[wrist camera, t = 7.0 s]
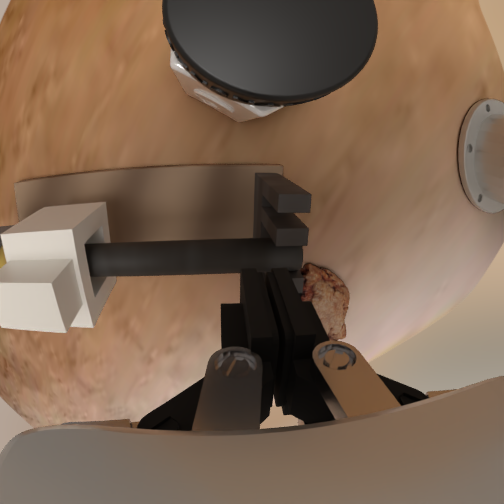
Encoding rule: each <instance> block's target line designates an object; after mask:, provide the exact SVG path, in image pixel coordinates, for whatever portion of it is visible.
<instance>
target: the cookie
mask: <svg viewBox="0 0 504 504" xmlns="http://www.w3.org/2000/svg"><path fill="white" fill-rule="evenodd" d="M299 271H300V272H301V274H302V275H303V277H304V282H303V291H302V293H299V295H300V298H301V300H302V301H311V302H312V304H313V306H314V308H315V310H316V312H317V314H318V316H319V318H320V320H321V323H322V325H323V327H324V329H325V331H326V333H327V335H328V337H329V339H330V341H337V340H338V339H343V338H345V337H346V326H345V323H344V319H345V316H346V313H347V310H348V305H349V291H348V288H347V287H346V286H345V285H344V283H343V281H342V280H340V279H339V278H338V277H337V276H336V275H335V274H334V273H332V272H330V271H329V270H327V269H324V268H323V269H321V267H320V268H317V266H313V265H312V264H307V265H305V266H304V269H303V268H301V269H300V270H299Z"/></svg>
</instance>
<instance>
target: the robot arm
mask: <svg viewBox="0 0 504 504" xmlns="http://www.w3.org/2000/svg"><path fill="white" fill-rule="evenodd" d="M458 161H459V171H460V176H461V181H462V185H463V187H464V190H465V193H466V195H467V196H468V198H469V200H470V201H471V203H472V204H473V205H474V206H475V207H477V208H478V209H480V210H482V211H484V212H487V213H493V214H494V213H498V212H500V211H502V210H503V209H504V103H503V102H501V101H499V100H496V99H483V100H480V101H478V102H477V103H475V104H474V105H473V106H472V107H471V108H470V110H469V112H468V113H467V115H466V117H465V120H464V122H463V125H462V129H461V134H460V139H459V148H458ZM221 344H222V349H220V350H218V351H216V352H215V353H214V354H213V355H212V356H211V357H210V359H209V361H208V365H207V369H206V373H205V377H204V378H202V379H201V380H199V381H198V382H196V383H195V384H193V385H192V386H190V387H189V388H187V389H186V390H184V391H183V392H181V393H180V394H178V395H177V396H175V397H174V398H172V399H170V400H169V401H167V402H166V403H164V404H163V405H161V406H160V407H158V408H156V409H155V410H153V411H152V412H150V413H148V414H147V415H146V416H144V417H143V418H142V419H141V420H140V422H131V421H130V419H122V420H109V421H91V422H68V423H63V424H61V425H52V426H45V427H38V428H34V429H30V430H27V431H24V432H22V433H20V434H18V435H16V436H15V437H14V438H13V439H12V440H10V441H9V442H8V444H7V445H6V446H5V447H4V449H3V450H2V452H1V454H0V504H504V376H499V377H495V378H491V379H487V380H484V381H481V382H478V383H475V384H472V385H469V386H466V387H463V388H460V389H454V390H443V391H430V392H427V393H426V395H425V394H423V393H422V392H420V391H419V390H416V389H414V388H412V387H409V386H406V385H404V384H401V383H399V382H396V381H394V380H391V379H389V378H386V377H384V376H381V375H379V374H376V373H375V371H374V370H373V369H372V368H371V366H370V365H369V364H368V362H367V361H366V360H365V358H364V357H363V356H362V355H361V353H360V352H359V351H358V350H357V349H356V348H355V347H354V346H352V345H350V344H348V343H345V342H342V341H330V339H329V337H328V335H327V333H326V331H325V329H324V327H323V325H322V323H321V320H320V318H319V316H318V314H317V312H316V310H315V308H314V306H313V304H312V302H311V301H302V300H301V298H300V295H299V293H298V291H297V289H296V286H295V284H294V282H293V280H292V277H291V275H290V273H289V271H288V269H287V268H272V269H271V272H266V277H265V281H264V278H263V274H262V272H257V270H256V268H241V274H240V303H235V304H221ZM273 394H274V399H275V404H276V406H277V407H279V406H282V410H283V414H284V415H293V416H295V417H296V418H298V426H289V427H279V428H267V429H260V424H261V423H262V422H263V421H264V420H265V419H266V418H267V417H268V416H269V414H270V407H272V402H273Z"/></svg>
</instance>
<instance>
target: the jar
mask: <svg viewBox="0 0 504 504" xmlns="http://www.w3.org/2000/svg"><path fill="white" fill-rule="evenodd" d="M162 13H163V24H164V27H165V28H166V30H165V34H166V37H167V40H168V42H169V44H170V47H171V54H170V67H171V69H172V70H173V72H174V74H175V76H176V77H177V79H178V81H179V83H180V84H181V86H182V88H183V90H184V92H185V93H186V94H188V95H189V96H191V97H193V98H195V99H197V100H199V101H201V102H203V103H205V104H206V105H208V106H210V107H212V108H214V109H216V110H217V111H219V112H221V113H223V114H225V115H226V116H228V117H230V118H232V119H233V120H235V121H237V122H239V123H241V122H245V121H249V120H253V119H257V118H261V117H265V116H267V115H269V114H271V113H273V112H275V111H277V110H279V109H281V108H283V107H285V106H291V105H297V104H302V103H306V102H310V101H313V100H316V99H319V98H322V97H324V96H326V95H328V94H330V93H331V92H333V91H335V90H337V89H339V88H341V87H342V86H344V85H345V84H347V83H348V82H350V81H351V80H352V79H353V78H354V77H355V76H357V74H358V73H359V72H360V71H361V70H362V69H363V68H364V66H365V65H366V64H367V62H368V60H369V58H370V57H371V55H372V52H373V50H374V47H375V43H376V39H377V33H378V20H377V13H376V8H375V4H374V1H373V0H163V2H162Z"/></svg>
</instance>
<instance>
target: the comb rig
mask: <svg viewBox="0 0 504 504" xmlns="http://www.w3.org/2000/svg"><path fill="white" fill-rule="evenodd" d="M14 188H15V197H16V204H17V211H18V217H19V222H20V221H22V220H24V219H25V218H27V217H28V216H30V215H32V214H33V213H35V212H37V211H38V210H40V209H42V208H44V207H50V206H60V205H71V204H83V203H96V202H106V208H107V217H108V226H109V234H110V242H111V243H93V244H84V246H85V252H86V258H87V263H88V268H89V273H90V277H110V276H159V275H195V274H225V273H241V268H256V270H257V272H262V274H263V278H264V281H265V277H266V272H271V269H272V268H287V269H288V271H289V273H290V275H291V277H292V280H293V282H294V284H295V286H296V289H297V291H298V293H302V291H303V282H304V277H303V275H302V274H301V272H300V271H299V270H300V269H301V267H302V262H303V249H302V246H307V243H308V232H309V228H308V227H307V226H306V225H305V224H304V223H303V222H302V221H301V220H300V219H299V218H298V217H297V216H296V215H295V214H294V213H310V208H311V194H310V193H308V192H307V191H305V190H304V189H302V188H301V187H299V186H297V185H296V184H294V183H293V182H291V181H290V180H288V179H286V178H285V177H283V166H282V165H280V164H189V165H165V166H147V167H132V168H120V169H108V170H98V171H88V172H79V173H71V174H63V175H55V176H48V177H41V178H34V179H28V180H22V181H19V182H16V183H14ZM12 226H14V225H12ZM12 226H2V227H0V234H2V233H3V232H5V231H6V230H8V229H9V228H11V227H12ZM6 263H7V262H6V258H5V254H4V249H3V245H2V240H1V235H0V268H2V267H3V266H4V265H5V264H6Z"/></svg>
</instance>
